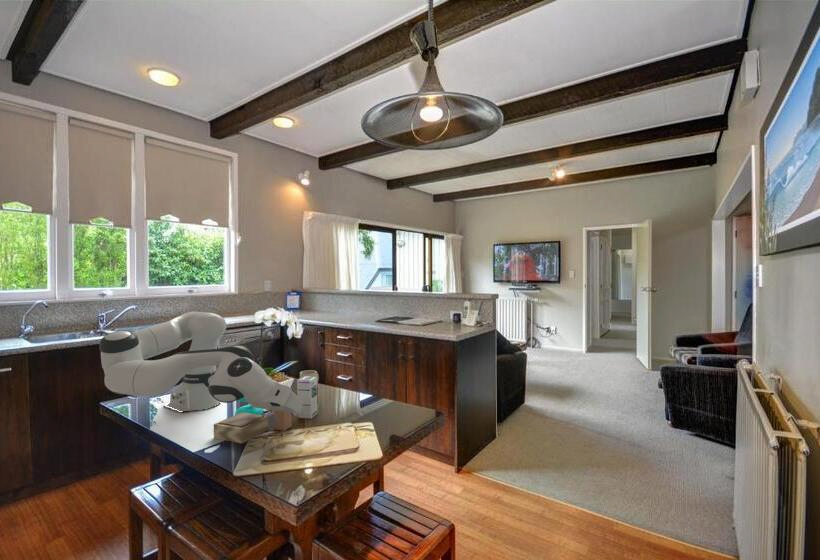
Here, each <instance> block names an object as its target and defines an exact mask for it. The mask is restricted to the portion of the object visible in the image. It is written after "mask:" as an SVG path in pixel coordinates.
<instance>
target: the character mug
mask: <svg viewBox="0 0 820 560" xmlns="http://www.w3.org/2000/svg"><path fill="white" fill-rule="evenodd" d="M304 376H305V377H306V376H313V377H317V382H319V373H318V371H316V370H314V369H313V370H311V369H310V370H309V369H308V370H302V371H300V372H299V378H298V379H297V380H299V379H301V378H303V377H304Z"/></svg>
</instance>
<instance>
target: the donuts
mask: <svg viewBox="0 0 820 560" xmlns="http://www.w3.org/2000/svg"><path fill="white" fill-rule="evenodd" d="M245 397H246V396H244V398H242V399H239V400H237V401H238V402H242V403H248V402H247V401H246V399H245ZM241 412H243V413H249V414H256V415H263V413H264V409H261V408H255V407H252V406H251V405H250V404H247V405H243V406H241V407H239V408H238V409H236V410H235V412H234V415H236V414H239V413H241Z"/></svg>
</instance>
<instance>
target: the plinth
mask: <svg viewBox="0 0 820 560" xmlns="http://www.w3.org/2000/svg"><path fill="white" fill-rule="evenodd" d="M268 430H269V415H264V414H262V415H256V414H249V413H243V412H241V413H239V414H236V415H235V414H234V415H232V416H230V417H227V418H225V419H222V420H220V421H218V422H216V423H214V424H213V439H216V440H220V441H221V440H222V441H227V442H233V443H238V444H244V443H247V442H248V441H249V440H251V439H254V438H255V437H258V436H259V435H261V434H263V433H265V432H266V431H268Z"/></svg>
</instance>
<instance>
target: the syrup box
mask: <svg viewBox="0 0 820 560" xmlns="http://www.w3.org/2000/svg"><path fill="white" fill-rule="evenodd" d="M298 379H299V378H298ZM298 379H297V380H296V381H297V384H296V385H297V386H296V387H297V388H296V389H297V396H298V397H299V399H300V400H301V401H302V403H303V406H302V408H301V410H300V412H299V413H298V414H297V417H298V418H299V419H313V418H314V417H315V416H316V415H317V414H319V396H318V393H319V391H318V385H319V384H318V381H317V377H313V376H306V377H305V376H304V377H303V378H301V379H299V380H298Z"/></svg>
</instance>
